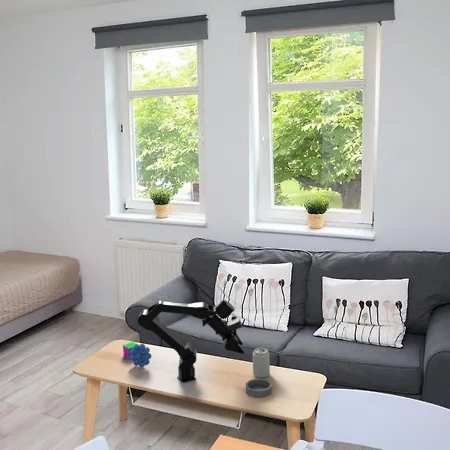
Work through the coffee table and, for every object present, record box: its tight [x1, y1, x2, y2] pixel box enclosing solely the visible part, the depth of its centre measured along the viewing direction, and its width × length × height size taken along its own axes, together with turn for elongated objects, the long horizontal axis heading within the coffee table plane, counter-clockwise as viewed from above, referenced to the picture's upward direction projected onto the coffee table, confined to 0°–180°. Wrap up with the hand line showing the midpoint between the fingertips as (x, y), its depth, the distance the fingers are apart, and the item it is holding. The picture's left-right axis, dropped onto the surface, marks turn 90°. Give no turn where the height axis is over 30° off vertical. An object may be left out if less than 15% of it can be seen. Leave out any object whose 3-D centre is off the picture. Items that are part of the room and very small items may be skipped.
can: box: [252, 347, 271, 379], centre depth 252 cm, size 8×8×12 cm
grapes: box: [129, 343, 152, 369], centre depth 263 cm, size 12×7×12 cm, turn 64°
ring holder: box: [245, 378, 273, 398], centre depth 238 cm, size 11×11×3 cm
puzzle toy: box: [122, 341, 137, 360], centre depth 276 cm, size 6×6×6 cm
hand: (243, 348), depth 250 cm, fingers open, 9 cm apart
